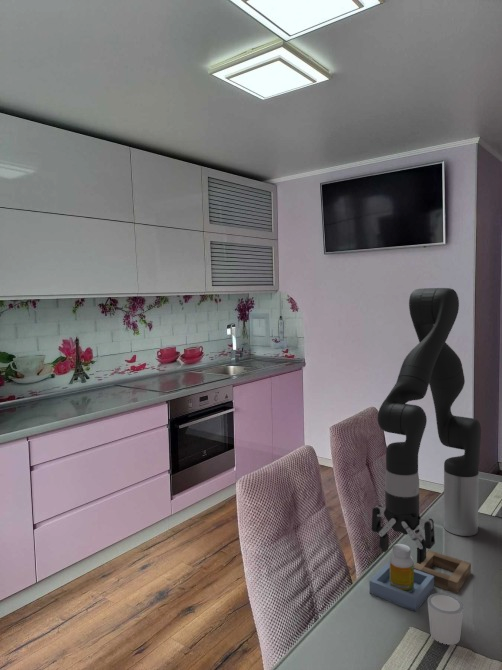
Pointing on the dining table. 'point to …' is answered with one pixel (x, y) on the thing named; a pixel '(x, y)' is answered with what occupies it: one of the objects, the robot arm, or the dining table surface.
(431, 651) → the dining table surface
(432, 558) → the collar
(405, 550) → the supplement bottle
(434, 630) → the shot glass
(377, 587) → the tray
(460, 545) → the dining table surface
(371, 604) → the dining table surface
